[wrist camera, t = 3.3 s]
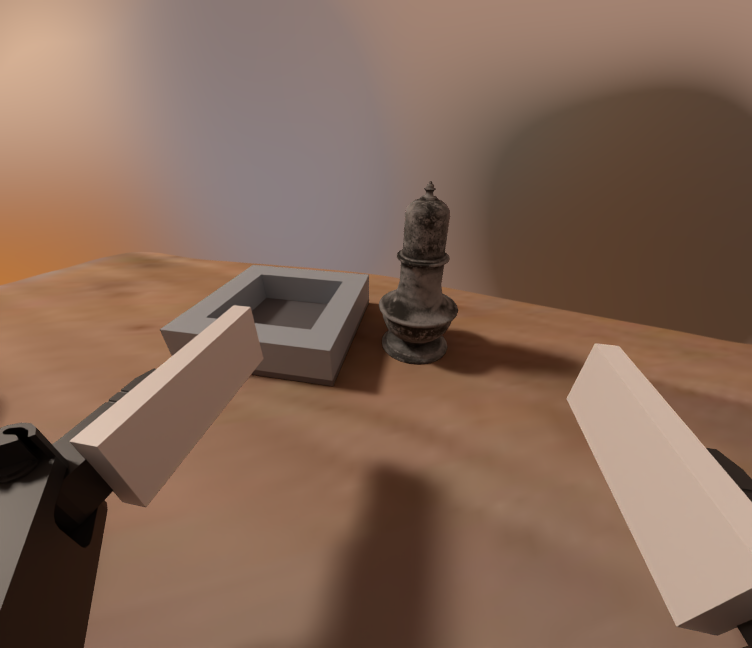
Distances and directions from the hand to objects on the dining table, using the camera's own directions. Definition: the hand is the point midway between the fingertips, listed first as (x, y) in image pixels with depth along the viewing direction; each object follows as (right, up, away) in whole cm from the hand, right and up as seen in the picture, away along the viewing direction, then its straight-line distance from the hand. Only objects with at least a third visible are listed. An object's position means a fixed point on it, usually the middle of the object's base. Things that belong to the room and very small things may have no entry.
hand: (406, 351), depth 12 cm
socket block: (-9, +1, +14) cm, 16 cm away
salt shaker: (+2, -1, +12) cm, 12 cm away
